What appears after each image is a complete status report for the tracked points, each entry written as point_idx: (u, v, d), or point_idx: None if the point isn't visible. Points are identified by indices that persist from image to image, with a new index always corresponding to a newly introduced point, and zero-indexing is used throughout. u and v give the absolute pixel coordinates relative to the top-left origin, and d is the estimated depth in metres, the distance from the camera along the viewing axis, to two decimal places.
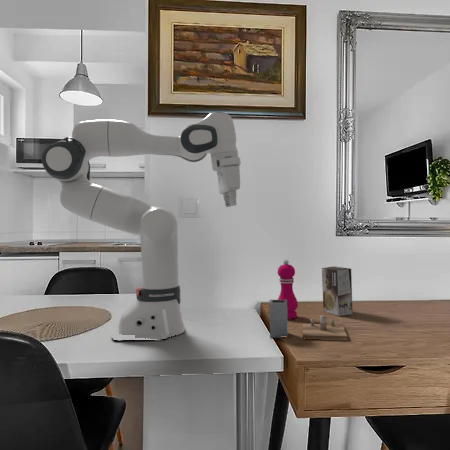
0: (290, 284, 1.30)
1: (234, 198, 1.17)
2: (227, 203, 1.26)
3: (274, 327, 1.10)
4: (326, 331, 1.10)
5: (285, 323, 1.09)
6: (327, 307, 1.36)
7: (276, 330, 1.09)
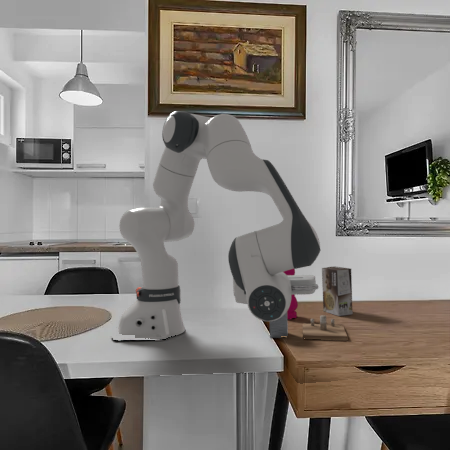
0: None
1: None
2: None
3: (274, 327, 1.10)
4: (326, 331, 1.10)
5: (285, 323, 1.09)
6: (327, 307, 1.36)
7: (276, 330, 1.09)
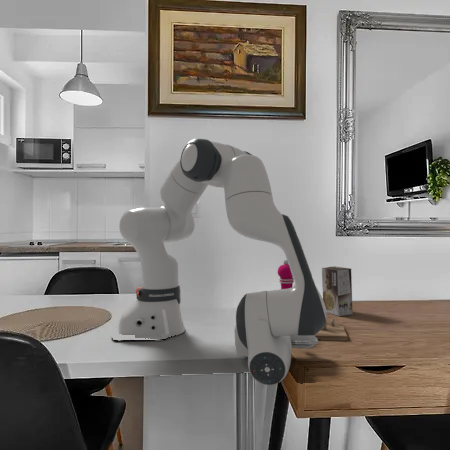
0: (290, 284, 1.30)
1: None
2: None
3: None
4: (326, 331, 1.10)
5: None
6: (327, 307, 1.36)
7: None
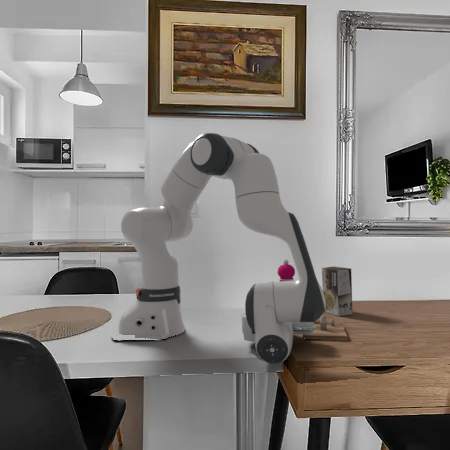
0: None
1: None
2: None
3: None
4: (326, 331, 1.10)
5: None
6: (327, 307, 1.36)
7: None
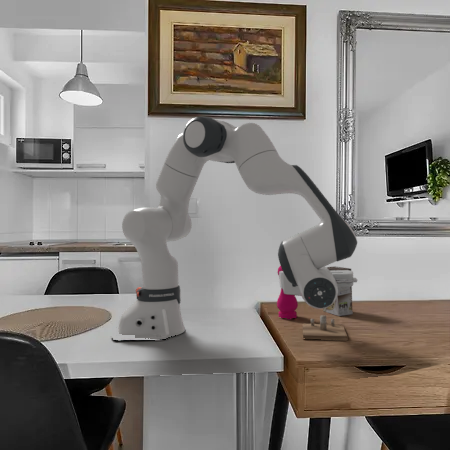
0: None
1: None
2: None
3: None
4: (326, 331, 1.10)
5: None
6: (327, 307, 1.36)
7: None
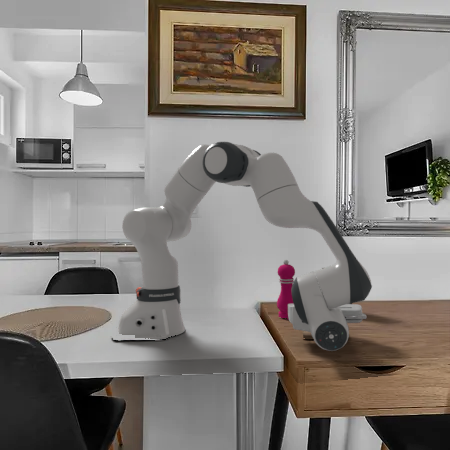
0: (290, 284, 1.30)
1: None
2: None
3: None
4: None
5: None
6: None
7: None
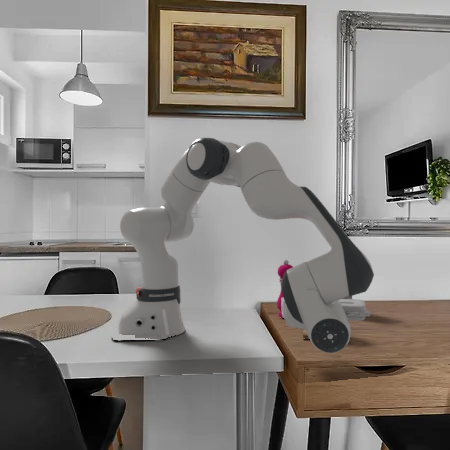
0: None
1: None
2: None
3: None
4: None
5: None
6: None
7: None
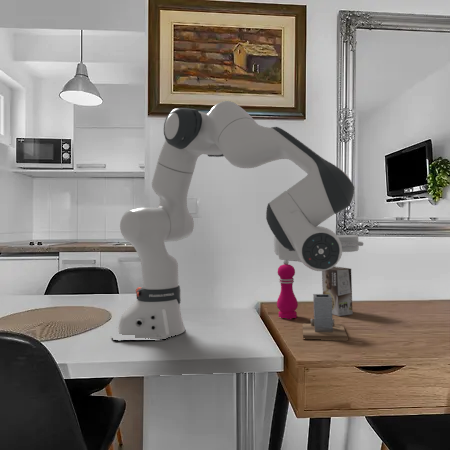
0: (290, 284, 1.30)
1: None
2: None
3: (319, 321, 1.10)
4: None
5: (330, 317, 1.09)
6: None
7: (321, 324, 1.09)
